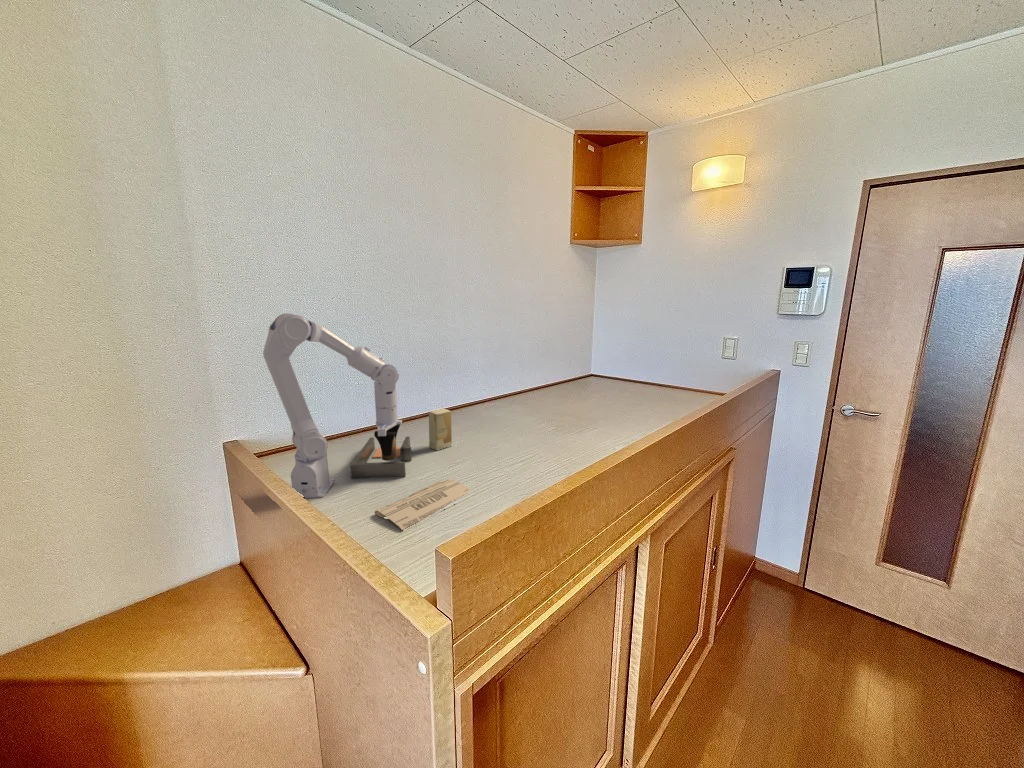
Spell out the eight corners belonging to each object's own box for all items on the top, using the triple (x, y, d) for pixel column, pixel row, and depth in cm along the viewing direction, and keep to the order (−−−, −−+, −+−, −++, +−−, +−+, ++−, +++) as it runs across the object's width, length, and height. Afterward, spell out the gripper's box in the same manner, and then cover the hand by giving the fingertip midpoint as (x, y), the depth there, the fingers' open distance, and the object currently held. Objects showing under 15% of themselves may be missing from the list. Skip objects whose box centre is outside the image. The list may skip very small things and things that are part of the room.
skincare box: (437, 451, 129) (435, 414, 127) (428, 447, 132) (427, 411, 129) (452, 446, 134) (451, 410, 131) (444, 442, 137) (443, 407, 134)
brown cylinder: (395, 460, 114) (394, 440, 112) (380, 460, 113) (379, 440, 112) (397, 455, 118) (396, 435, 116) (383, 455, 117) (382, 435, 116)
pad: (399, 457, 124) (399, 456, 124) (372, 458, 123) (372, 456, 123) (403, 447, 132) (403, 446, 132) (378, 448, 131) (378, 447, 131)
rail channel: (405, 477, 111) (404, 463, 110) (351, 478, 109) (350, 465, 108) (415, 448, 132) (415, 436, 131) (371, 449, 130) (370, 437, 130)
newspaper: (443, 482, 109) (444, 474, 108) (475, 501, 102) (476, 492, 101) (366, 515, 92) (366, 505, 92) (398, 540, 85) (398, 530, 84)
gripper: (396, 412, 106) (398, 461, 108) (405, 399, 120) (407, 442, 122) (368, 413, 105) (371, 462, 108) (380, 399, 119) (383, 443, 122)
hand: (389, 452), depth 115 cm, fingers closed on brown cylinder, 4 cm apart
